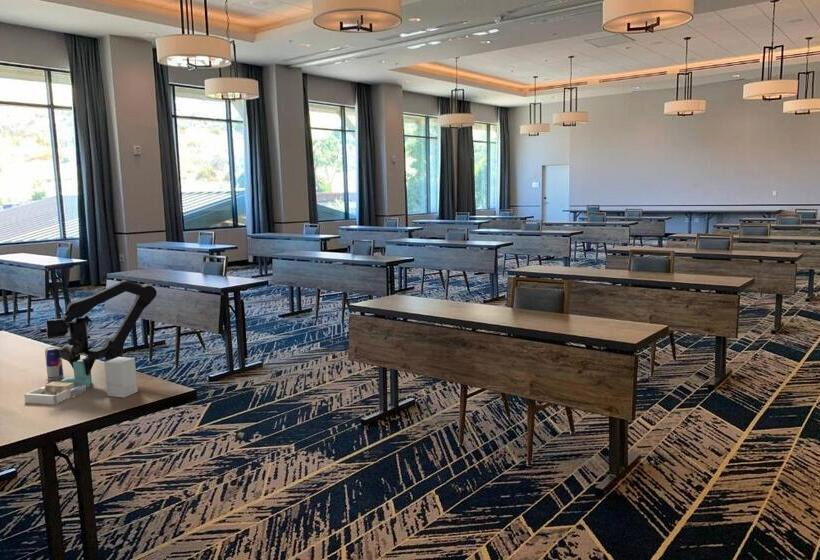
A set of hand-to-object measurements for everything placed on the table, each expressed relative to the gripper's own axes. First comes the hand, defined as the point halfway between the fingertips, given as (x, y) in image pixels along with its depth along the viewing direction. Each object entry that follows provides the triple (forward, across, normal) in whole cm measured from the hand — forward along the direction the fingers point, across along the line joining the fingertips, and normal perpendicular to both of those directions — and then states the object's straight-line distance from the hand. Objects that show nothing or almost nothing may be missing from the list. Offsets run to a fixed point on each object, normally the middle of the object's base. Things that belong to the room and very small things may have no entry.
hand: (82, 374), depth 239 cm
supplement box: (+4, +22, -8) cm, 24 cm away
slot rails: (+4, 0, -11) cm, 11 cm away
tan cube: (+4, -2, -12) cm, 13 cm away
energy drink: (+4, -16, +4) cm, 17 cm away
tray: (+4, 0, -18) cm, 18 cm away
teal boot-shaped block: (+4, 0, -2) cm, 4 cm away
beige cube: (+4, +2, -12) cm, 13 cm away
